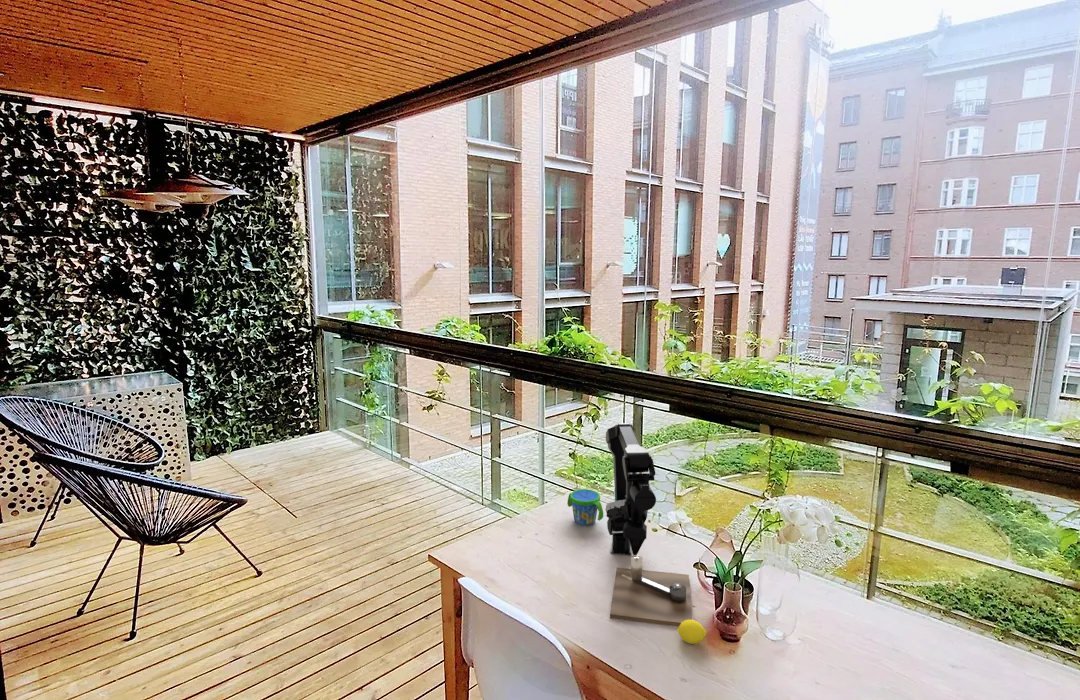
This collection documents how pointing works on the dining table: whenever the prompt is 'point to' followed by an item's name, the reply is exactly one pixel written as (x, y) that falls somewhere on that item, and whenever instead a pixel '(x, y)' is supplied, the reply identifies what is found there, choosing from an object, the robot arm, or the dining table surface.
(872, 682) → the dining table surface
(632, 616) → the board
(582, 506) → the snack cup
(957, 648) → the dining table surface
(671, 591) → the lever
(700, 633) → the lemon
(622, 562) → the dining table surface
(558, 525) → the dining table surface
